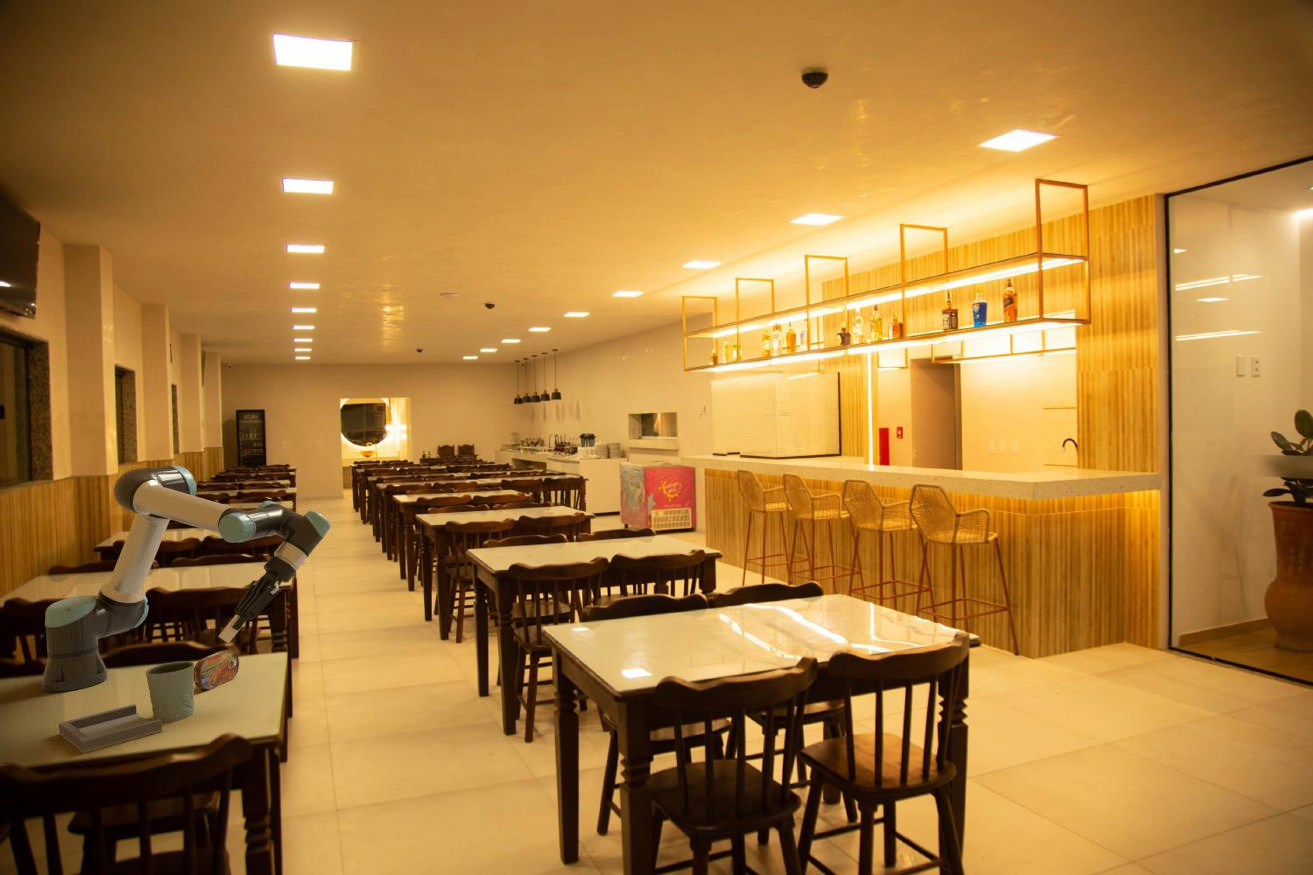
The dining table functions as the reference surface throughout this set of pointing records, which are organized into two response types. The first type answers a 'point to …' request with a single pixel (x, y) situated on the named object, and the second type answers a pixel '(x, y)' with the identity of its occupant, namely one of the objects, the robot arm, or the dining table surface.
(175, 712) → the green embossed cup
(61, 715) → the dining table surface
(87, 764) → the dining table surface
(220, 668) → the tin
